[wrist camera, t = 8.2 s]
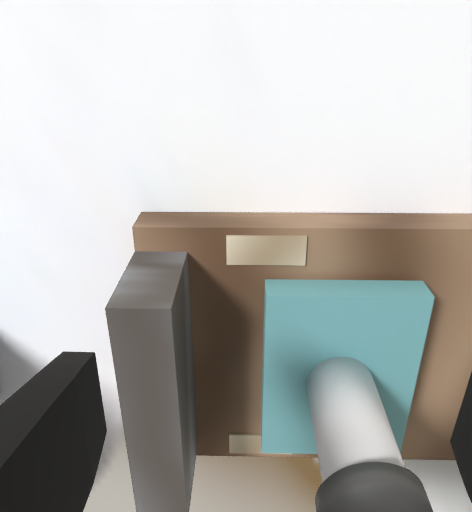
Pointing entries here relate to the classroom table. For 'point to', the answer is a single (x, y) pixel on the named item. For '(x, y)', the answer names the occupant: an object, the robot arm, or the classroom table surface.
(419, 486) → the teal plate with post
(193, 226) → the bench base
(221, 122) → the classroom table surface
